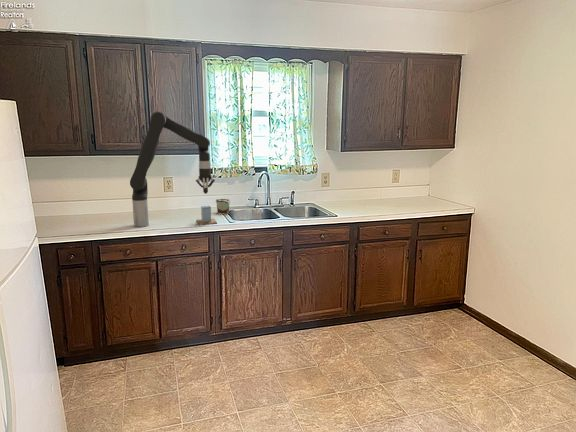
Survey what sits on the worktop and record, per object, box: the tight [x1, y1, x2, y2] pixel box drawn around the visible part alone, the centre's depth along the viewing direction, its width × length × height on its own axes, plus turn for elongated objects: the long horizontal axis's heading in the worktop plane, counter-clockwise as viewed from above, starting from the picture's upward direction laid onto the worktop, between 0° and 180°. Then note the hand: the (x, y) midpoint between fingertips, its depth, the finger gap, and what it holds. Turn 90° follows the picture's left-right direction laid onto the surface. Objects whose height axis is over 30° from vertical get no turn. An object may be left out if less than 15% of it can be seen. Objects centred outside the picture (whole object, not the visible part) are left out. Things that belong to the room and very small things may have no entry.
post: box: [195, 218, 218, 226], centre depth 295 cm, size 12×12×8 cm
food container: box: [215, 198, 231, 215], centre depth 325 cm, size 12×6×10 cm, turn 57°
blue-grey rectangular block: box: [200, 205, 212, 222], centre depth 295 cm, size 6×6×10 cm
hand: (205, 193), depth 292 cm, fingers closed
